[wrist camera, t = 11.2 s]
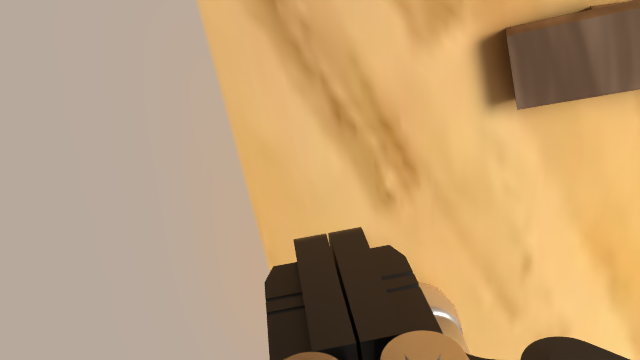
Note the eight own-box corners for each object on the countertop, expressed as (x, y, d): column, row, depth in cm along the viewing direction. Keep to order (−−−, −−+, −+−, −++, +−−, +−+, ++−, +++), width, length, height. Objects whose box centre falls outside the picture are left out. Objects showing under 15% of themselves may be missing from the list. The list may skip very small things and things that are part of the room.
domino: (517, 109, 37) (674, 83, 34) (506, 36, 35) (673, 0, 32) (516, 99, 39) (666, 73, 35) (505, 28, 36) (664, -7, 33)
